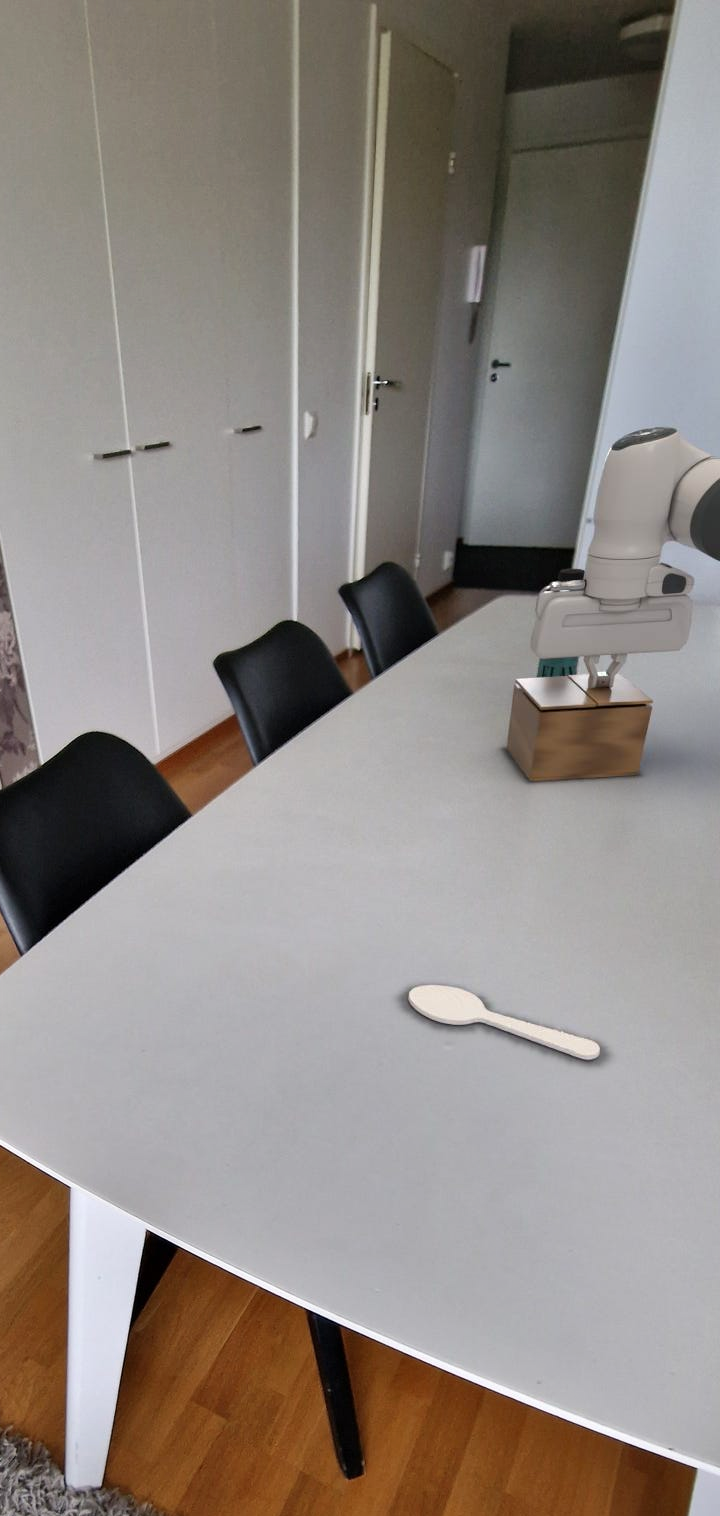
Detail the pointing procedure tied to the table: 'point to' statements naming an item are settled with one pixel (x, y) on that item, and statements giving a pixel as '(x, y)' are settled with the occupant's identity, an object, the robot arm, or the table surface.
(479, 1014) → the spoon
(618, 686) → the flap
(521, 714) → the carton
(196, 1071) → the table surface
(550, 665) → the beverage bottle
